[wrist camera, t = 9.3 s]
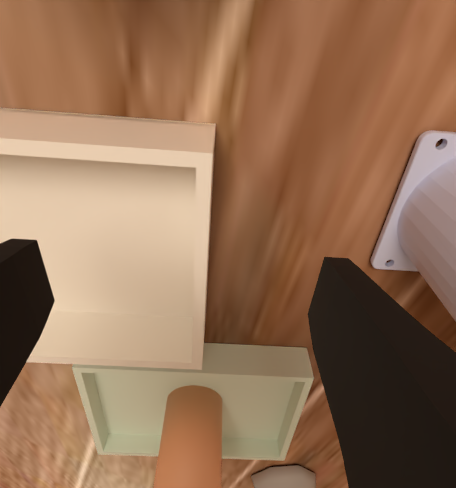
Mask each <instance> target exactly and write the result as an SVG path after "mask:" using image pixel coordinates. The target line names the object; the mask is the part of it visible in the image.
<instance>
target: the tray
mask: <svg viewBox="0 0 456 488" xmlns="http://www.w3.org/2000/svg"><path fill="white" fill-rule="evenodd" d="M72 369H73V373H74V376H75V379H76V383H77V386H78V389H79V393H80V396H81V399H82V403H83V406H84V409H85V413H86V416H87V419H88V422H89V426H90V429H91V432H92V436H93V439H94V442H95V446H96V449H97V452H98V454H101V455H131V456H158V455H159V448H160V442H161V435H162V429H163V422H164V416H165V410H166V403H167V398H168V395H169V394H170V393H171V392H172V391H173V390H175V389H177V388H180V387H183V386H190V385H197V386H204V387H207V388H210V389H212V390H214V391H216V392H217V393H218V394H219V395H220V396H221V398H222V459H251V460H281V461H284V460H285V457H286V454H287V451H288V449H289V446H290V443H291V440H292V437H293V435H294V432H295V429H296V426H297V424H298V421H299V418H300V415H301V413H302V410H303V407H304V404H305V401H306V399H307V396H308V393H309V390H310V388H311V385H312V382H313V379H314V376H313V372H312V368H311V363H310V359H309V355H308V351H307V348H303V347H282V346H261V345H240V344H219V343H204V349H203V364H202V370H195V369H172V368H150V367H127V366H104V365H82V364H73V366H72Z"/></svg>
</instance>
